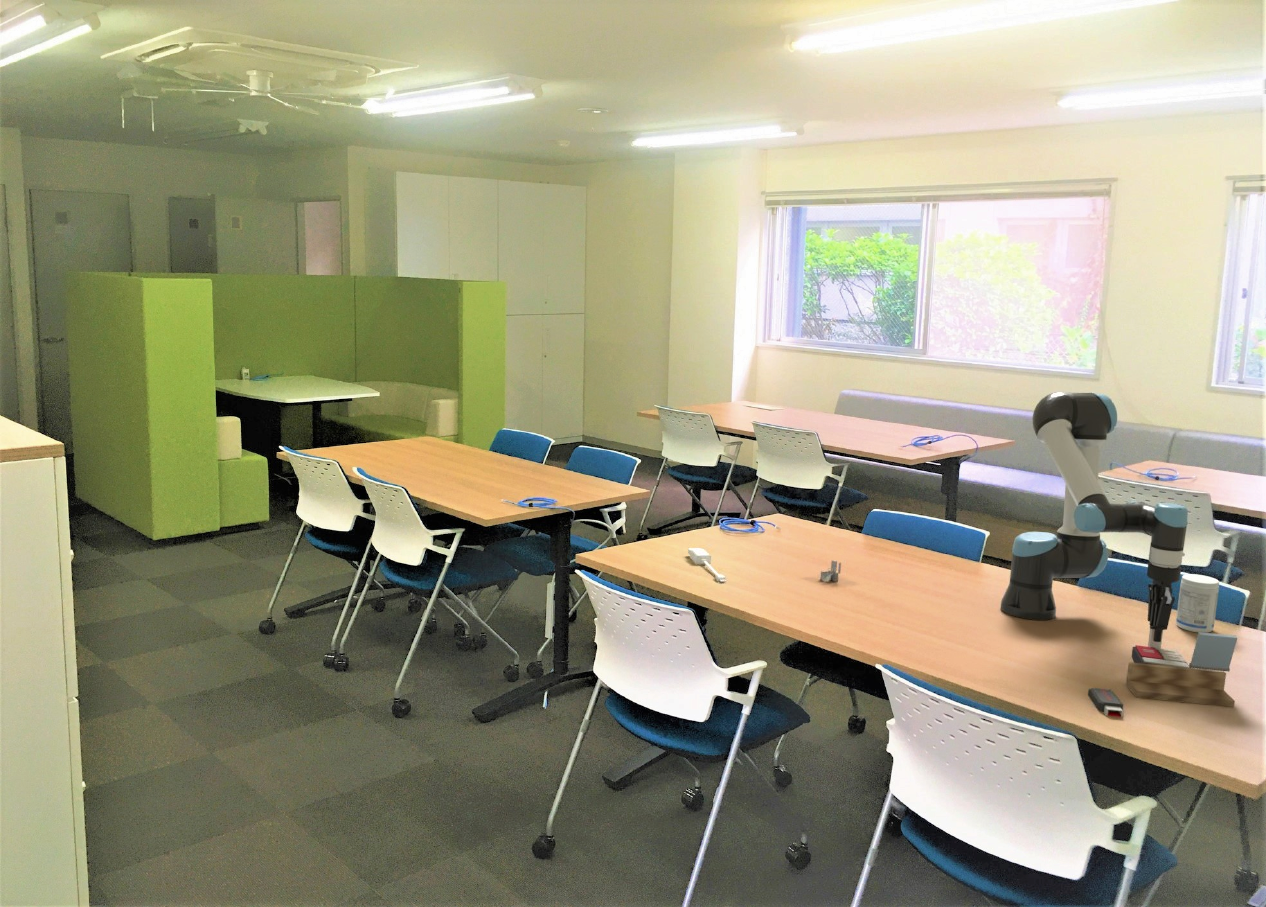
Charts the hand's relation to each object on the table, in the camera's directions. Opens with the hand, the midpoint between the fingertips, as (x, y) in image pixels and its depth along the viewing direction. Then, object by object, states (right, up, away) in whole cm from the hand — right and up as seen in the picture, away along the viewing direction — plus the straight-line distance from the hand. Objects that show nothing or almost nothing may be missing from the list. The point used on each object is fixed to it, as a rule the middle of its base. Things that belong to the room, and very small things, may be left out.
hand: (1153, 651), depth 262 cm
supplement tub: (+25, +2, +26) cm, 36 cm away
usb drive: (-27, -6, -32) cm, 43 cm away
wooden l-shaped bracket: (-7, -5, -25) cm, 26 cm away
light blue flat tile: (+1, +5, -25) cm, 25 cm away
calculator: (-2, -3, -8) cm, 9 cm away
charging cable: (-111, +14, +68) cm, 131 cm away
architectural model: (-72, +9, +54) cm, 90 cm away
